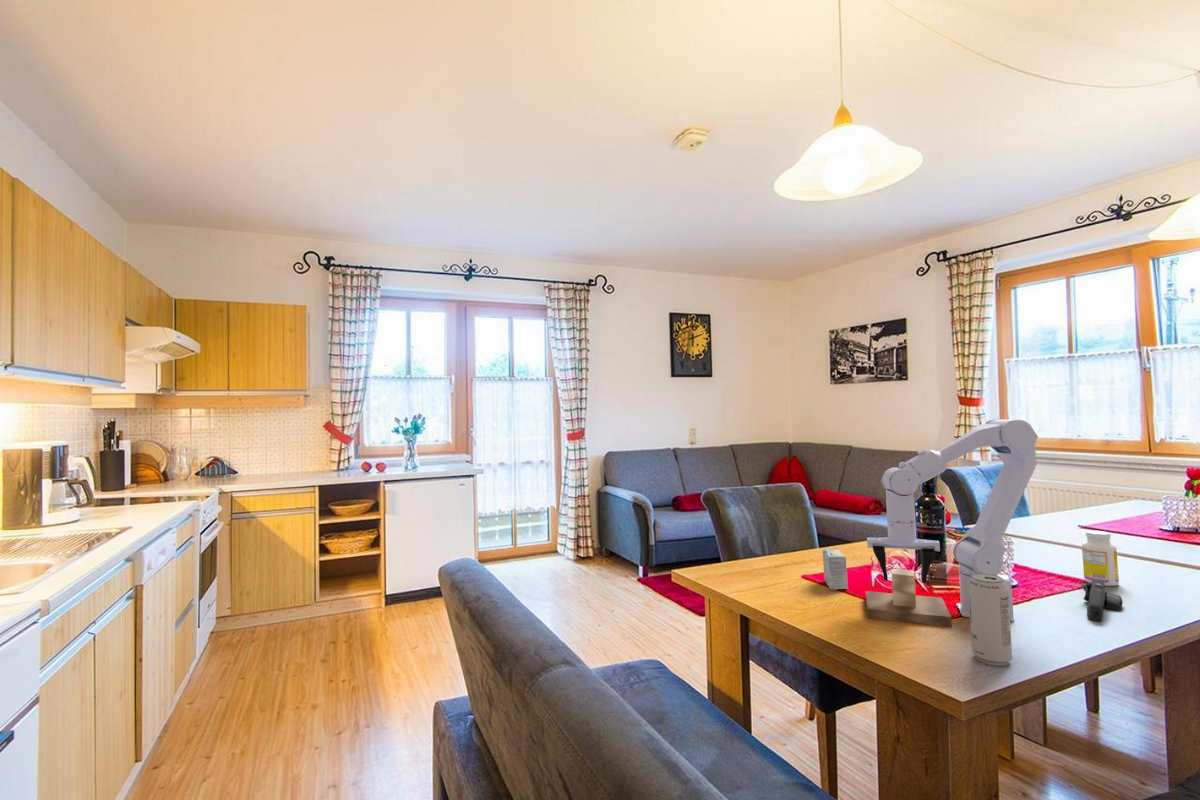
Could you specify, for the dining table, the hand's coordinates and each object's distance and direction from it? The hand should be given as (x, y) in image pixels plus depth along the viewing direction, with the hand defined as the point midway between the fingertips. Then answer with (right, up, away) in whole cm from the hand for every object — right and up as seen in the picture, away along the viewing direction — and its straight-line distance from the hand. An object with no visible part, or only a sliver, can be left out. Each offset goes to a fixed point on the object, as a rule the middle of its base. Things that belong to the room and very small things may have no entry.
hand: (904, 580), depth 127 cm
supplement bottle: (+58, -6, +15) cm, 60 cm away
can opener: (+41, -6, -4) cm, 42 cm away
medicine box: (-7, -8, +20) cm, 23 cm away
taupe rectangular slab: (0, -7, 0) cm, 7 cm away
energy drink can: (+2, -7, -25) cm, 26 cm away
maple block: (0, -5, 0) cm, 5 cm away
